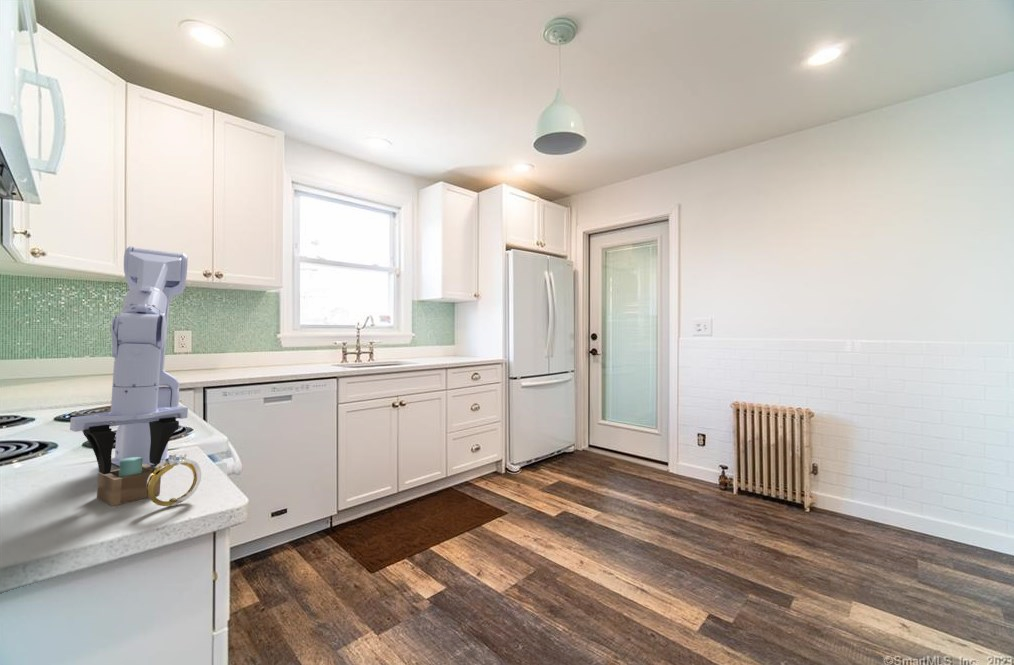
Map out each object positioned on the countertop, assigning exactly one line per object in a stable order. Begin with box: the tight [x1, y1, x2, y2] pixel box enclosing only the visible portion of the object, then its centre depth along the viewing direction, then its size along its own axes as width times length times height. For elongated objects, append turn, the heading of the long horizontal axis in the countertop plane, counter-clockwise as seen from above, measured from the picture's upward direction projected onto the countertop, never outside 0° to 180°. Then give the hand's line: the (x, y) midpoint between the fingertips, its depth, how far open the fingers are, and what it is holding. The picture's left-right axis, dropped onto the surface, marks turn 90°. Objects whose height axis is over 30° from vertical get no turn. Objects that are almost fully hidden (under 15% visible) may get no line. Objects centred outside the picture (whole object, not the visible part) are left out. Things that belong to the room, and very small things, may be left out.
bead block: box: [96, 464, 162, 507], centre depth 68 cm, size 6×6×4 cm
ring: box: [146, 453, 202, 507], centre depth 65 cm, size 7×3×8 cm, turn 147°
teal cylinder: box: [118, 457, 143, 477], centre depth 68 cm, size 3×3×6 cm
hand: (130, 467), depth 68 cm, fingers open, 6 cm apart
